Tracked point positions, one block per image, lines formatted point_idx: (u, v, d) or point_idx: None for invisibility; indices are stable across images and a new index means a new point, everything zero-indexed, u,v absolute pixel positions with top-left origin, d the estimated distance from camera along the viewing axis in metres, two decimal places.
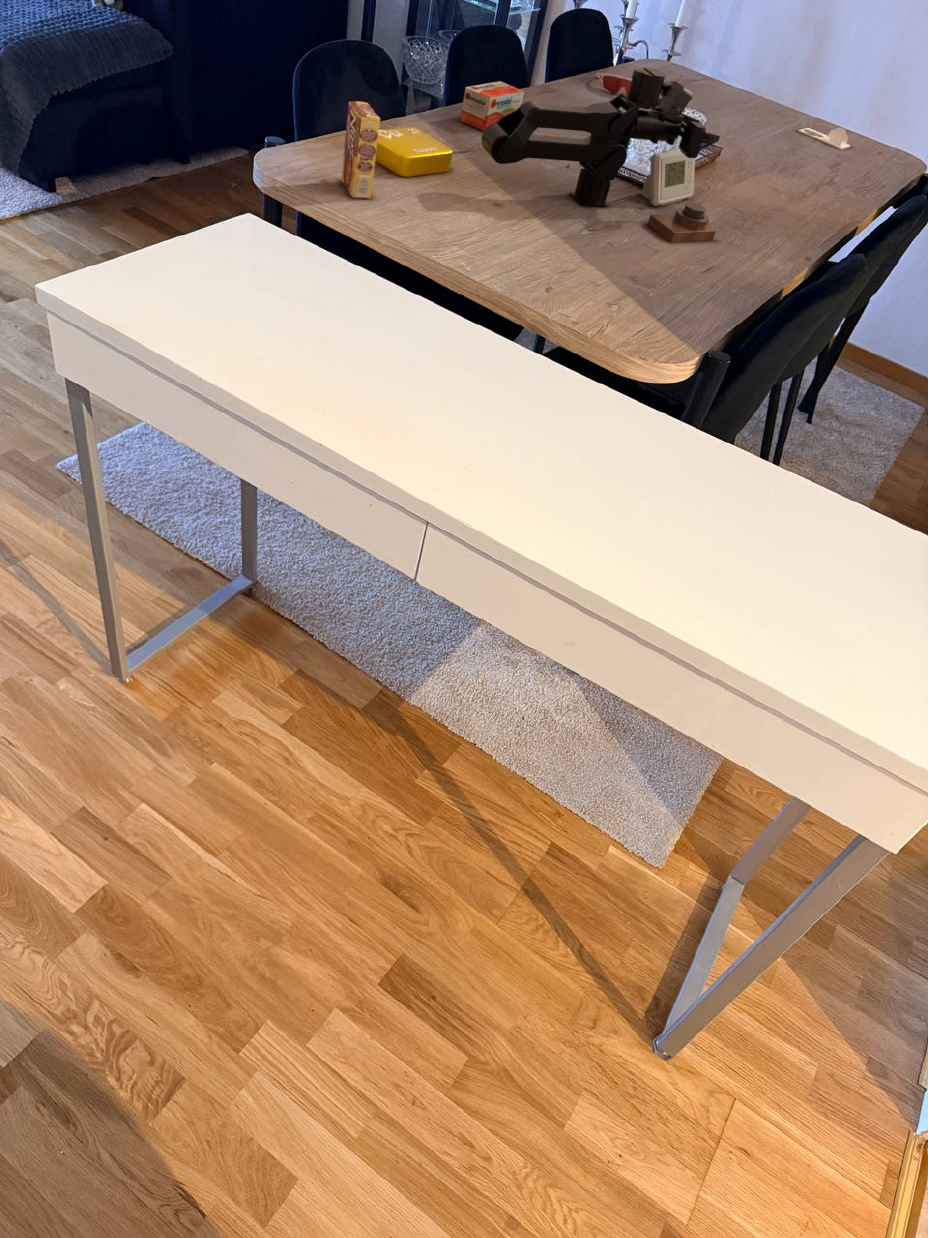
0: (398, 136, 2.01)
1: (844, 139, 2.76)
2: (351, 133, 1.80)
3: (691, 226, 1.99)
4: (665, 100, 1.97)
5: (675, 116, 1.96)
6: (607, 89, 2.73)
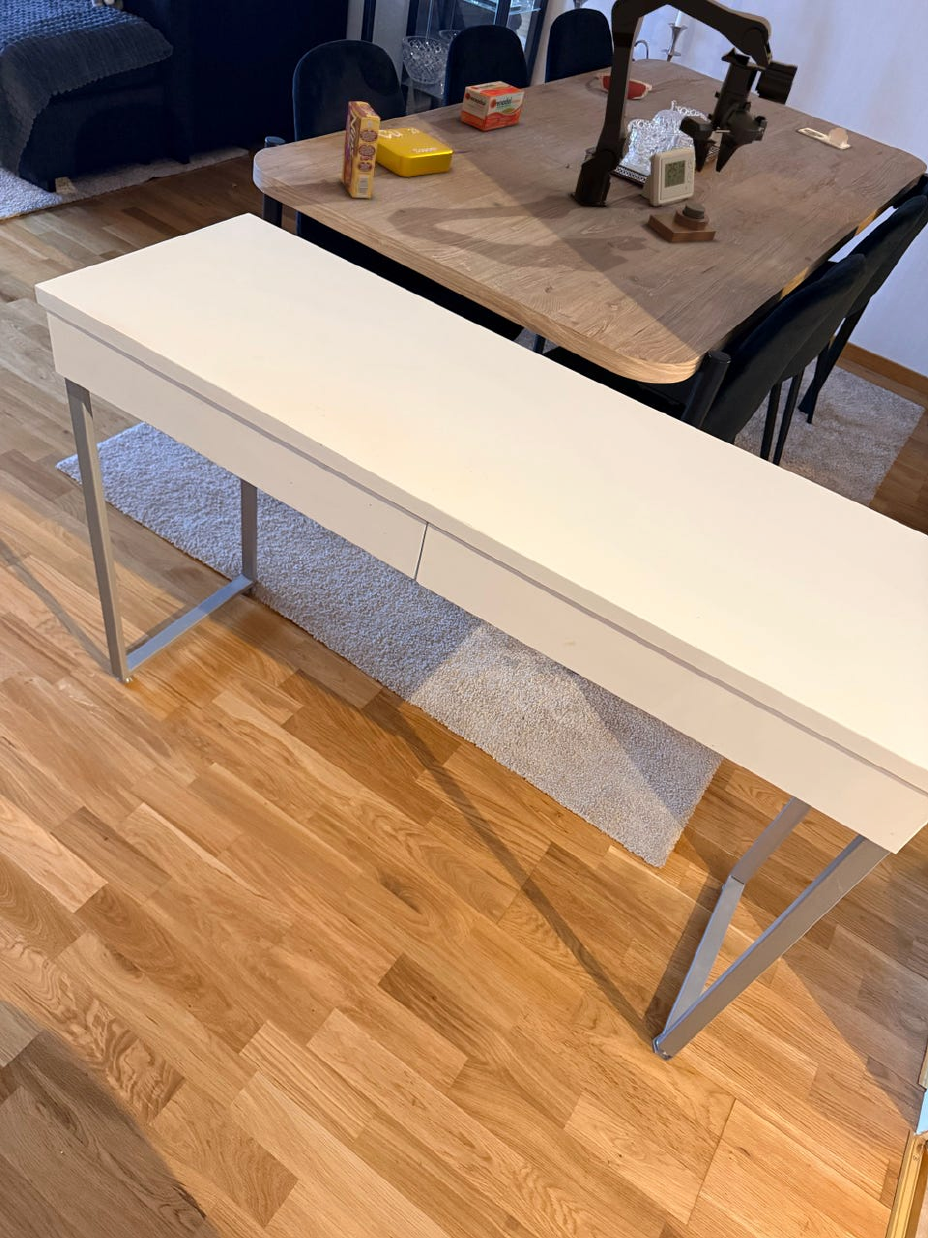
0: (398, 136, 2.01)
1: (844, 139, 2.76)
2: (351, 133, 1.80)
3: (691, 226, 1.99)
4: (748, 115, 1.84)
5: (726, 117, 1.84)
6: (607, 89, 2.73)
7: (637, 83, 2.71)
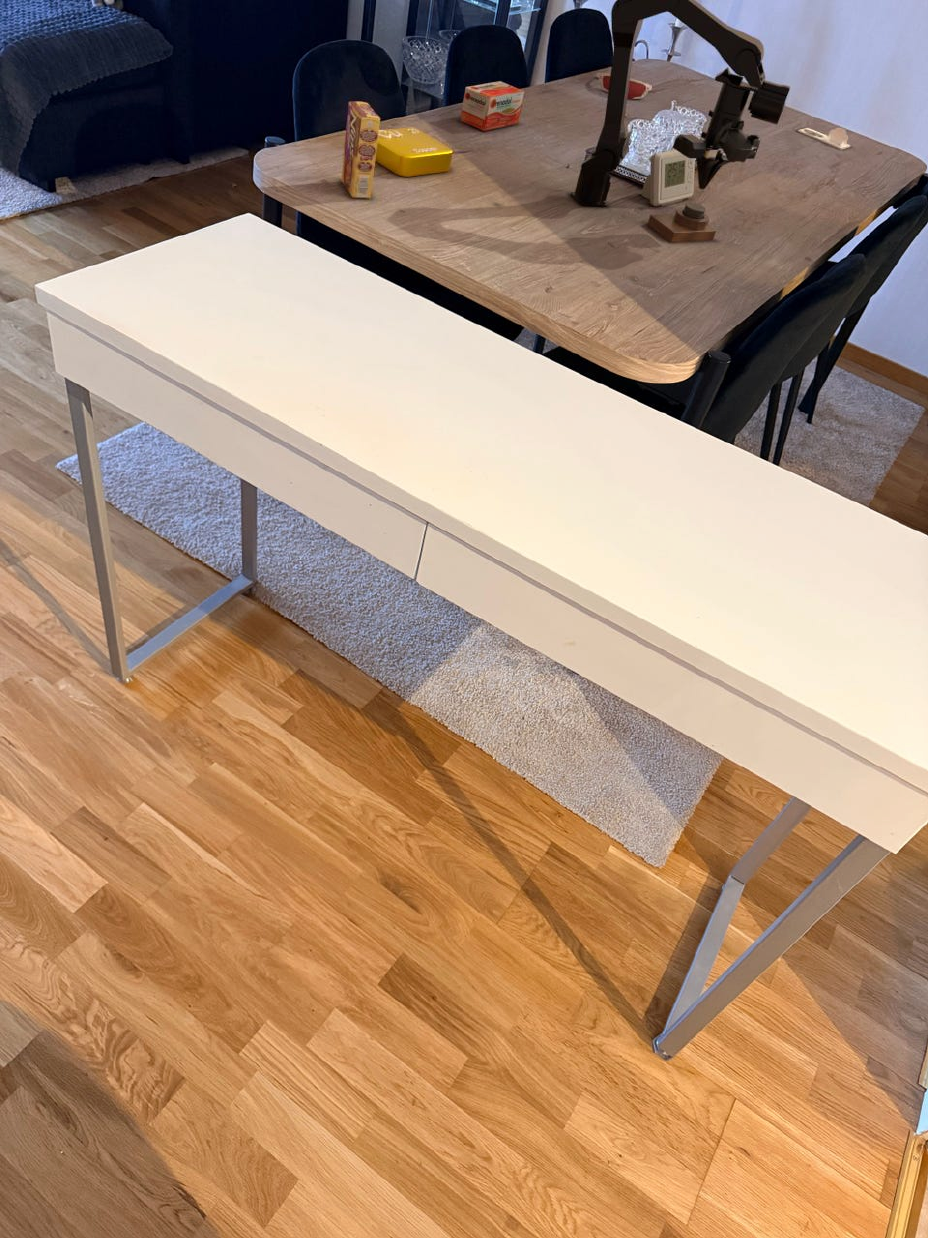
0: (398, 136, 2.01)
1: (844, 139, 2.76)
2: (351, 133, 1.80)
3: (691, 226, 1.99)
4: (741, 134, 1.86)
5: (719, 136, 1.86)
6: (607, 89, 2.73)
7: (637, 83, 2.71)
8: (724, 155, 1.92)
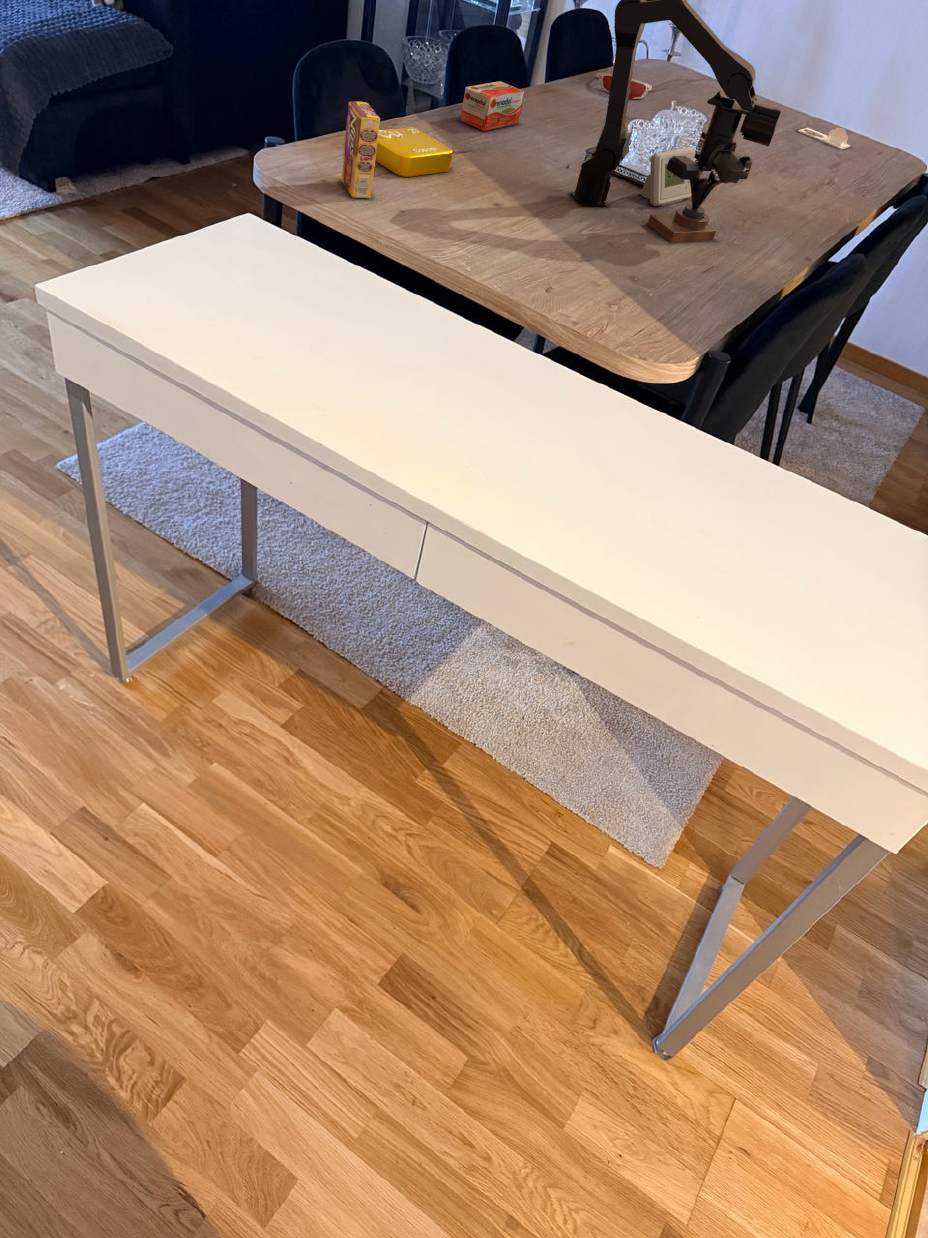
0: (398, 136, 2.01)
1: (844, 139, 2.76)
2: (351, 133, 1.80)
3: (691, 226, 1.99)
4: (734, 156, 1.89)
5: (712, 158, 1.89)
6: (607, 89, 2.73)
7: (637, 83, 2.71)
8: (717, 176, 1.95)
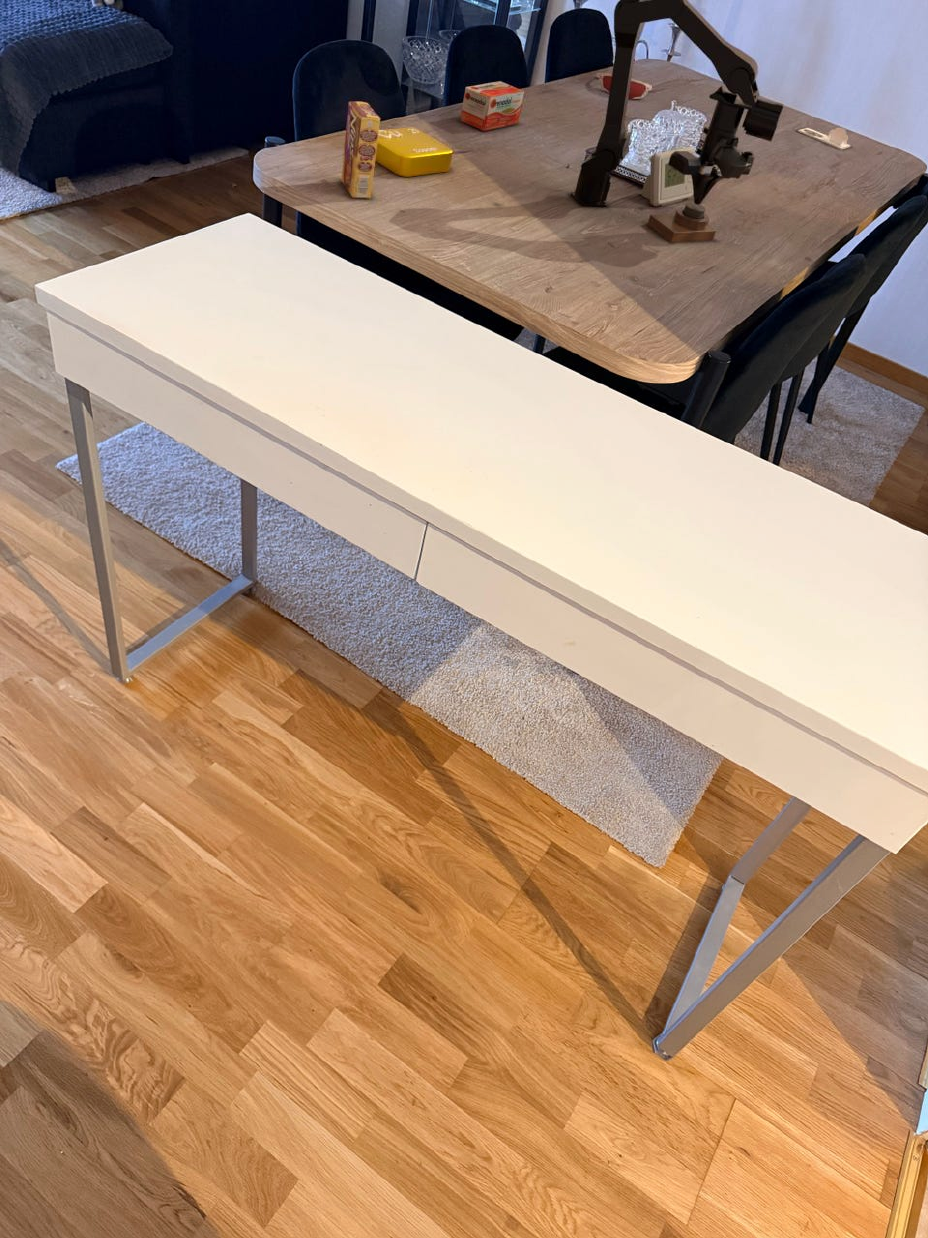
0: (398, 136, 2.01)
1: (844, 139, 2.76)
2: (351, 133, 1.80)
3: (691, 226, 1.99)
4: (736, 151, 1.89)
5: (714, 153, 1.88)
6: (607, 89, 2.73)
7: (637, 83, 2.71)
8: (719, 171, 1.94)
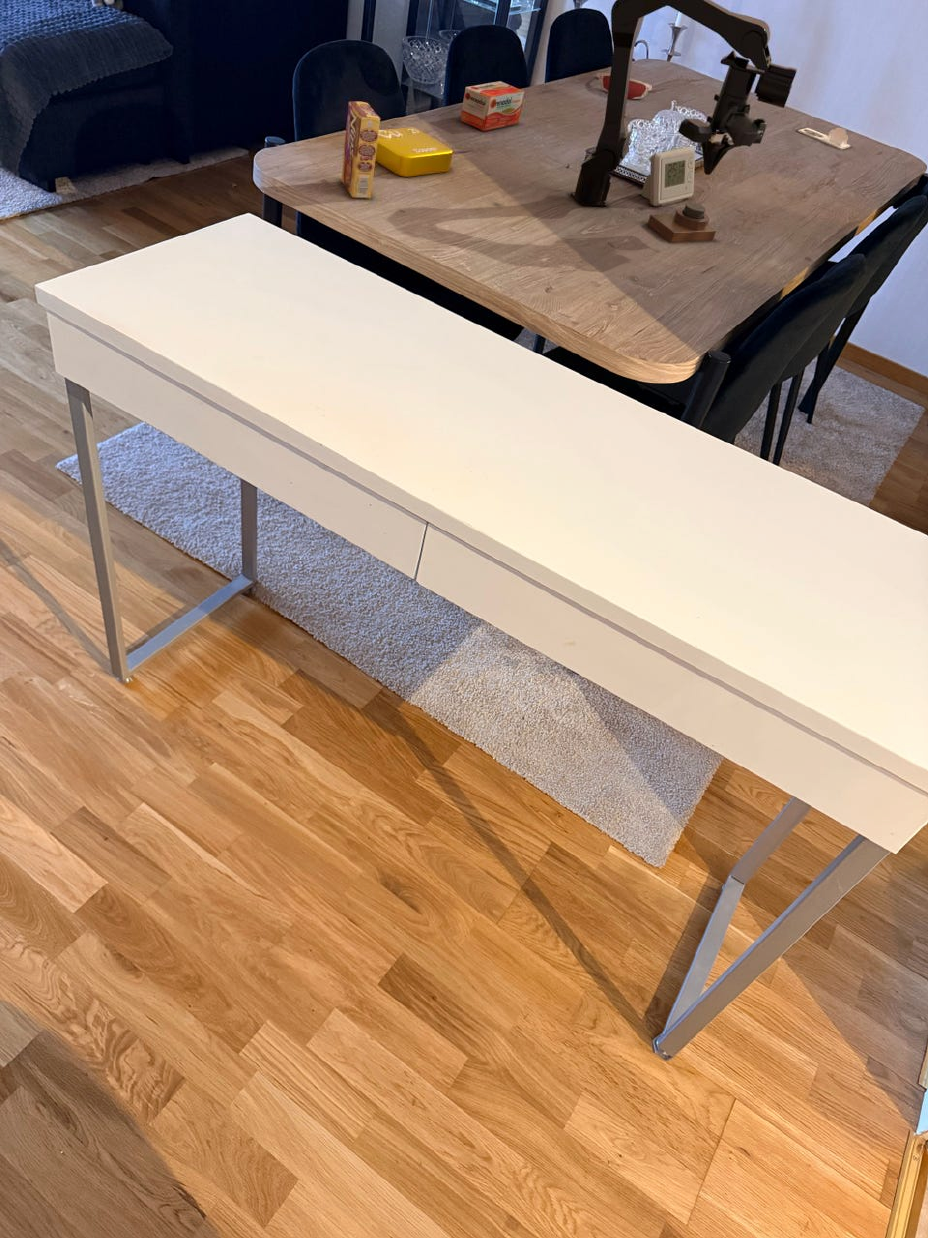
0: (398, 136, 2.01)
1: (844, 139, 2.76)
2: (351, 133, 1.80)
3: (691, 226, 1.99)
4: (747, 118, 1.84)
5: (725, 120, 1.84)
6: (607, 89, 2.73)
7: (637, 83, 2.71)
8: (730, 140, 1.90)
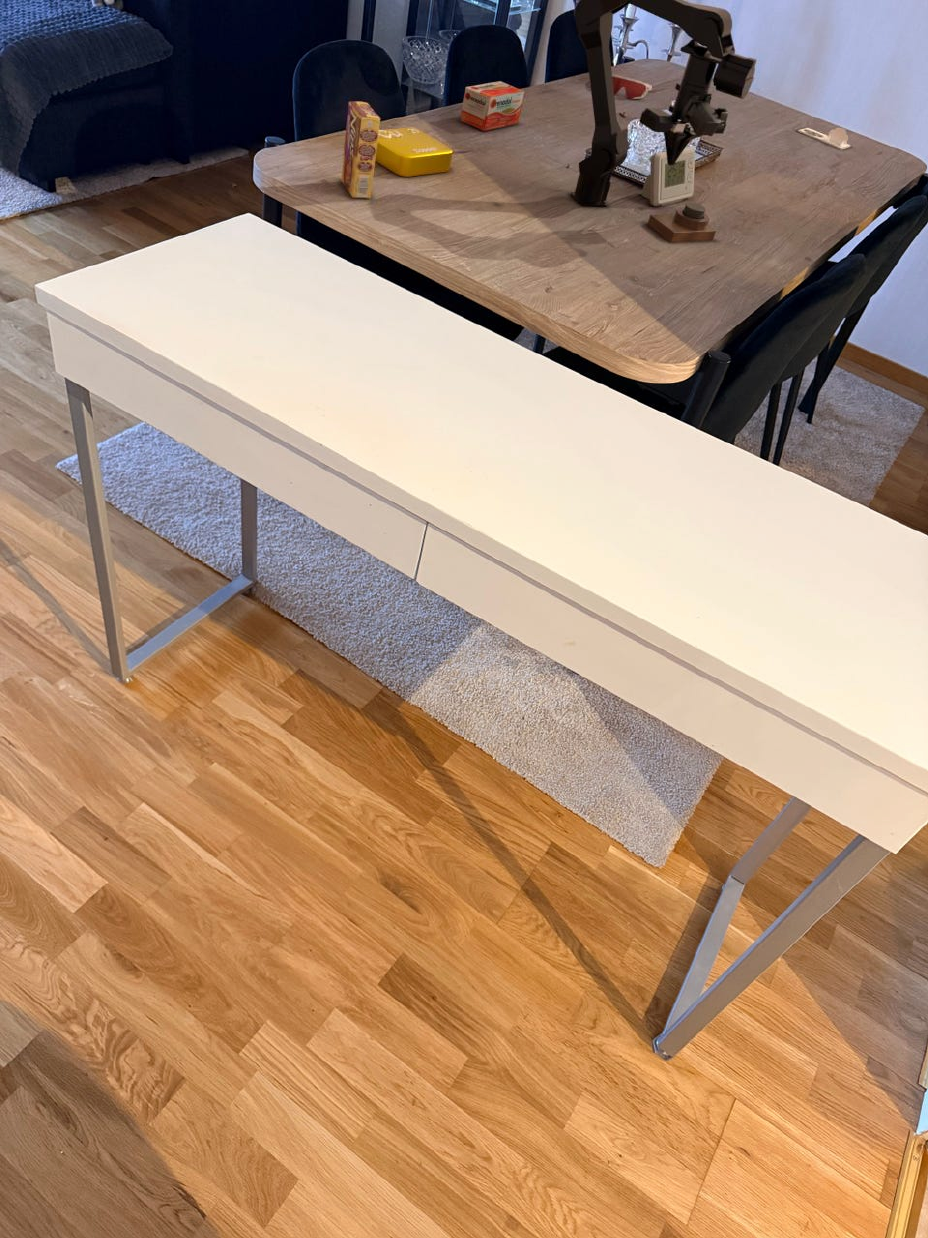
0: (398, 136, 2.01)
1: (844, 139, 2.76)
2: (351, 133, 1.80)
3: (691, 226, 1.99)
4: (709, 108, 1.83)
5: (686, 109, 1.83)
6: None
7: (637, 83, 2.71)
8: (692, 130, 1.88)
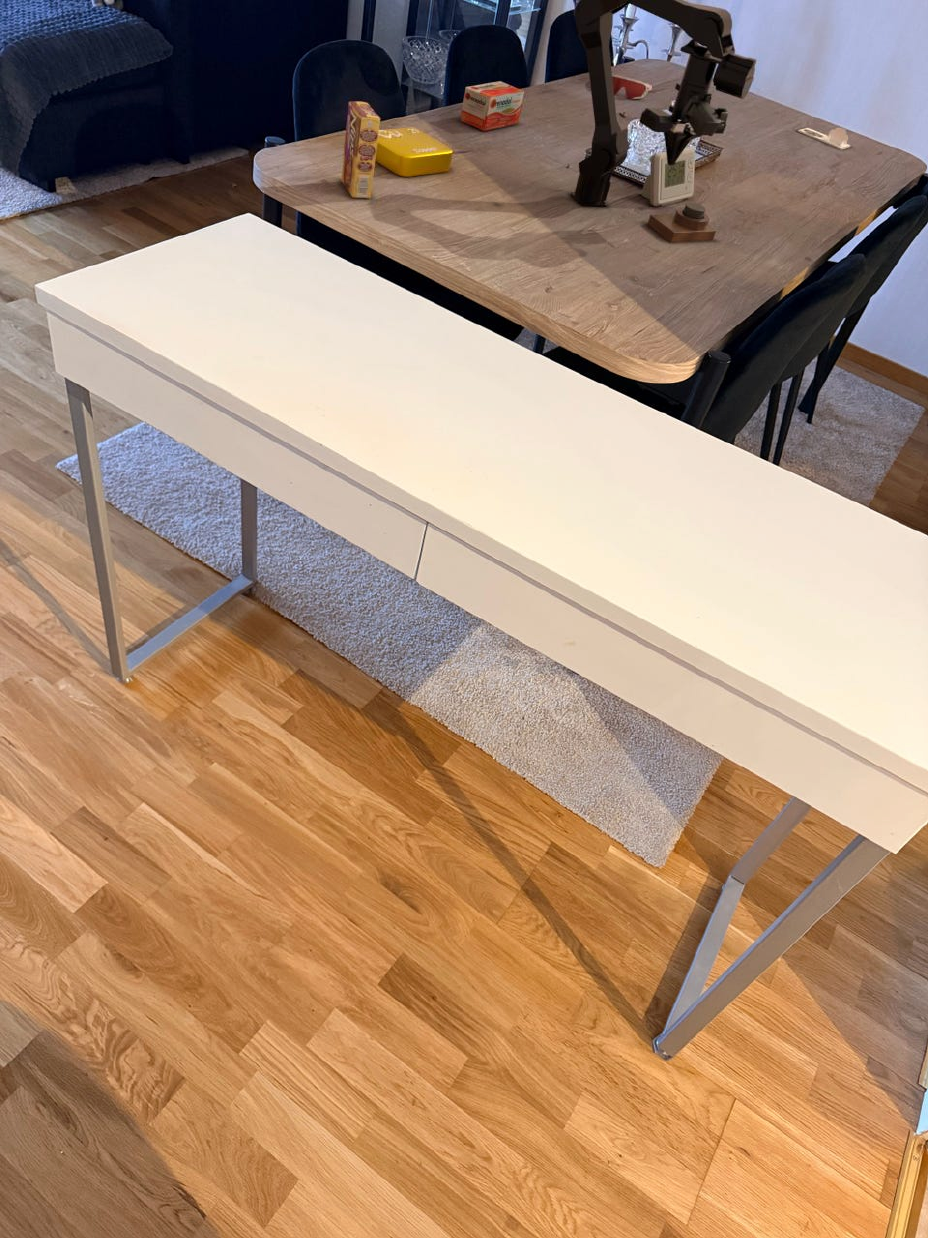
0: (398, 136, 2.01)
1: (844, 139, 2.76)
2: (351, 133, 1.80)
3: (691, 226, 1.99)
4: (709, 108, 1.83)
5: (686, 109, 1.83)
6: None
7: (637, 83, 2.71)
8: (692, 129, 1.88)
